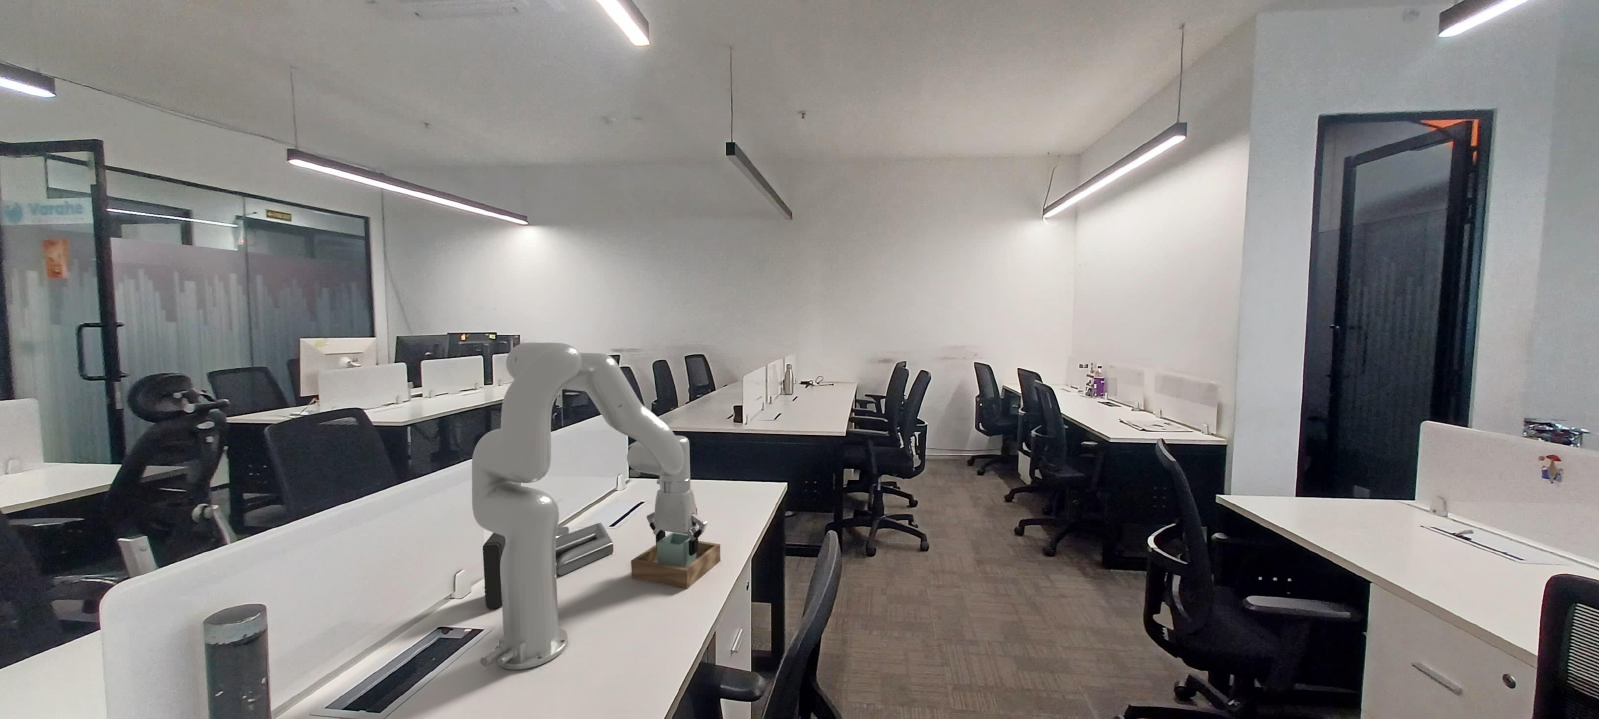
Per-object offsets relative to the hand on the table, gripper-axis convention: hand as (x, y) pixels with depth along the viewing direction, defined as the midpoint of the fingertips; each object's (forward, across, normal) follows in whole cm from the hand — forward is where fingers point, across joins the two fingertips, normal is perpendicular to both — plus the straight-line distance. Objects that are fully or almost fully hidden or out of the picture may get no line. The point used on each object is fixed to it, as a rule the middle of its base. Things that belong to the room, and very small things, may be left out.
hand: (677, 550), depth 138 cm
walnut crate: (+5, 0, 0) cm, 5 cm away
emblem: (+5, -35, -3) cm, 36 cm away
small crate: (+4, 0, 0) cm, 4 cm away
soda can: (+5, -5, +13) cm, 15 cm away
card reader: (+5, -30, -27) cm, 41 cm away
